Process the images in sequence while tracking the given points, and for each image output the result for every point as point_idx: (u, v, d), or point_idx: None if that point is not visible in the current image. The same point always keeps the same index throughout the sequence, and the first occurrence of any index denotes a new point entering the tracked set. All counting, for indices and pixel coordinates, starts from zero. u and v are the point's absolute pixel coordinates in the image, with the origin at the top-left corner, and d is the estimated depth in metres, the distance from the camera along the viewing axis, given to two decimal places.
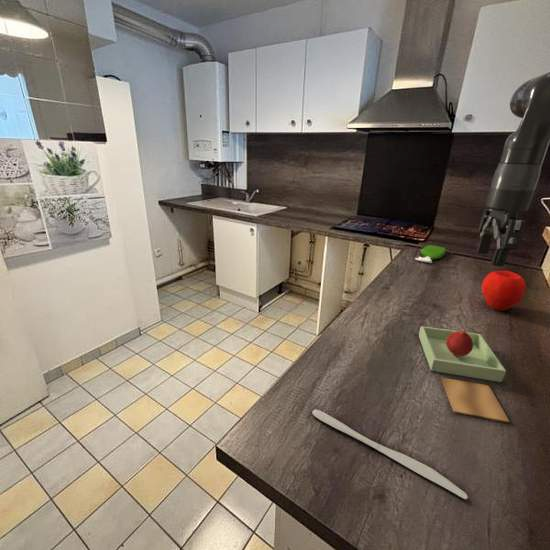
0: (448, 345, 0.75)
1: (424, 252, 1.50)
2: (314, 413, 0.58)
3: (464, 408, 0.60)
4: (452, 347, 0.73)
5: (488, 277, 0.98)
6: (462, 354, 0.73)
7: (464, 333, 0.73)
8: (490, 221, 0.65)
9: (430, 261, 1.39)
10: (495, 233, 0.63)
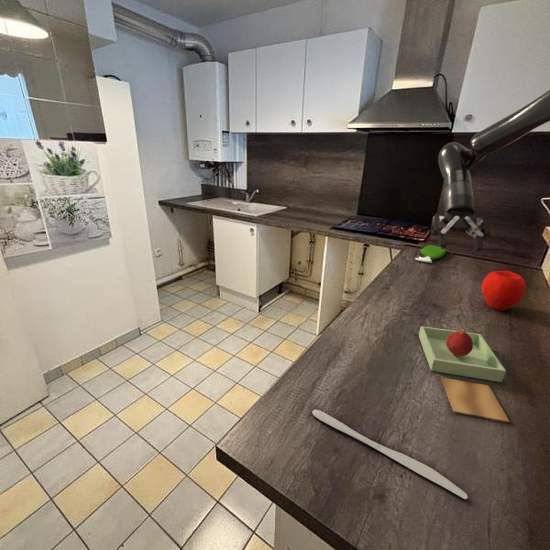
0: (448, 345, 0.75)
1: (424, 252, 1.50)
2: (314, 413, 0.58)
3: (464, 408, 0.60)
4: (452, 347, 0.73)
5: (488, 277, 0.98)
6: (462, 354, 0.73)
7: (464, 333, 0.73)
8: None
9: (430, 261, 1.39)
10: None
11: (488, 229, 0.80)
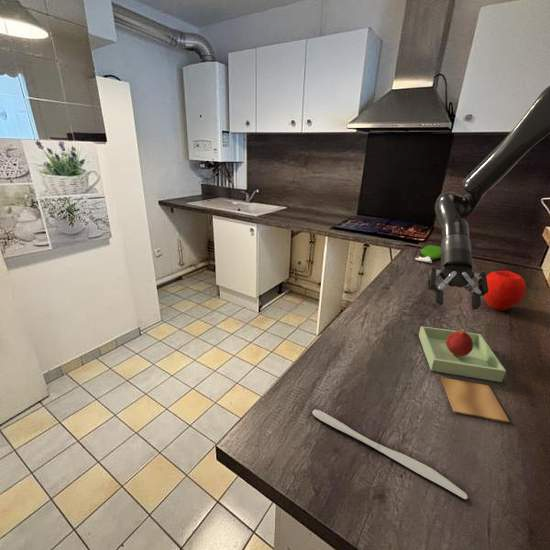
0: (448, 345, 0.75)
1: (424, 252, 1.50)
2: (314, 413, 0.58)
3: (464, 408, 0.60)
4: (452, 347, 0.73)
5: (488, 277, 0.98)
6: (462, 354, 0.73)
7: (464, 333, 0.73)
8: None
9: (430, 261, 1.39)
10: None
11: (486, 286, 0.78)
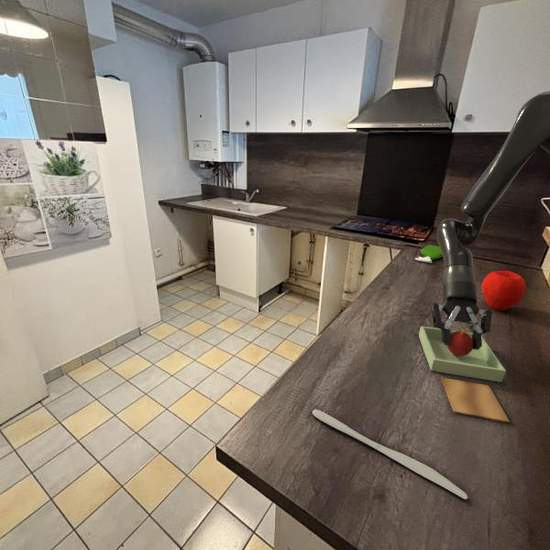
0: (448, 345, 0.75)
1: (424, 252, 1.50)
2: (314, 413, 0.58)
3: (464, 408, 0.60)
4: (452, 347, 0.73)
5: (488, 277, 0.98)
6: (462, 354, 0.73)
7: (464, 333, 0.73)
8: None
9: (430, 261, 1.39)
10: None
11: (488, 325, 0.73)
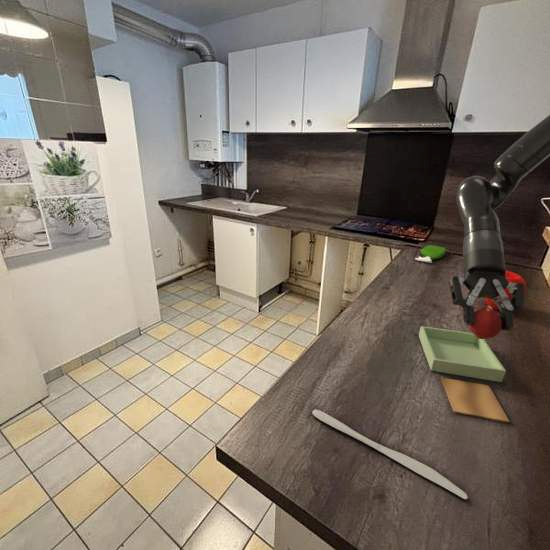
0: None
1: (424, 252, 1.50)
2: (314, 413, 0.58)
3: (464, 408, 0.60)
4: (477, 327, 0.61)
5: None
6: (488, 336, 0.60)
7: (491, 310, 0.60)
8: None
9: (430, 261, 1.39)
10: None
11: (521, 301, 0.60)
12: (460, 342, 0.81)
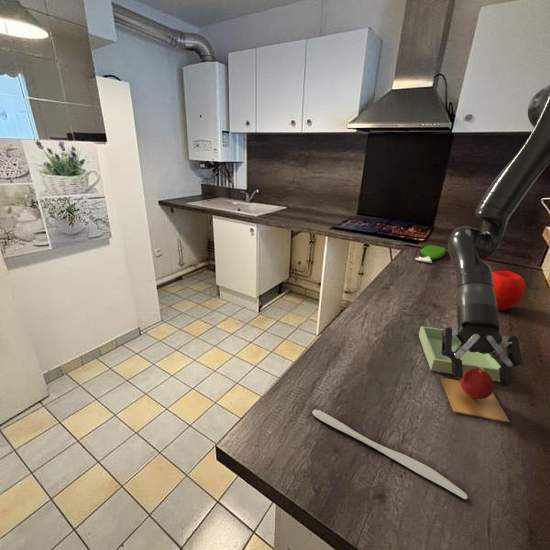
0: (463, 385, 0.62)
1: (424, 252, 1.50)
2: (314, 413, 0.58)
3: (464, 408, 0.60)
4: (469, 389, 0.60)
5: None
6: (480, 397, 0.60)
7: (483, 372, 0.60)
8: None
9: (430, 261, 1.39)
10: None
11: (519, 356, 0.60)
12: (460, 342, 0.81)
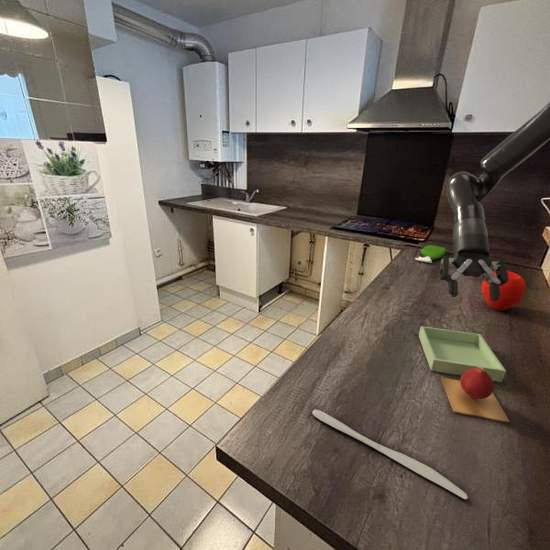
0: (463, 385, 0.62)
1: (424, 252, 1.50)
2: (314, 413, 0.58)
3: (464, 408, 0.60)
4: (469, 389, 0.60)
5: None
6: (480, 397, 0.60)
7: (483, 372, 0.60)
8: None
9: (430, 261, 1.39)
10: None
11: (506, 275, 0.70)
12: (460, 342, 0.81)
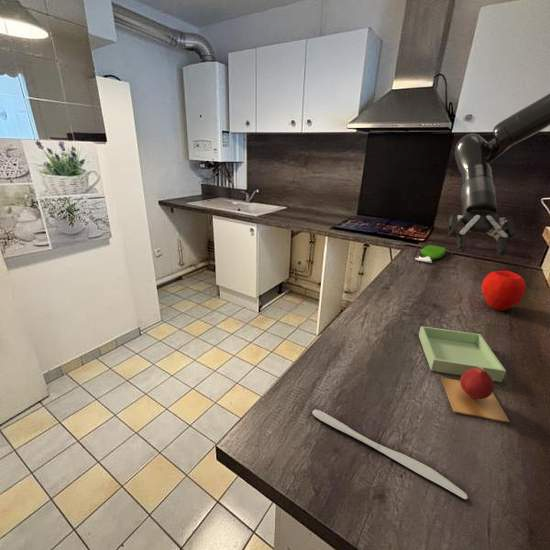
0: (463, 385, 0.62)
1: (424, 252, 1.50)
2: (314, 413, 0.58)
3: (464, 408, 0.60)
4: (469, 389, 0.60)
5: (488, 277, 0.98)
6: (480, 397, 0.60)
7: (483, 372, 0.60)
8: None
9: (430, 261, 1.39)
10: None
11: (513, 229, 0.72)
12: (460, 342, 0.81)
